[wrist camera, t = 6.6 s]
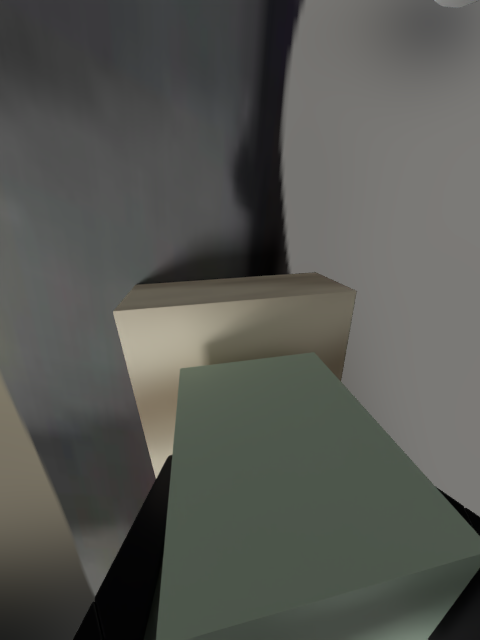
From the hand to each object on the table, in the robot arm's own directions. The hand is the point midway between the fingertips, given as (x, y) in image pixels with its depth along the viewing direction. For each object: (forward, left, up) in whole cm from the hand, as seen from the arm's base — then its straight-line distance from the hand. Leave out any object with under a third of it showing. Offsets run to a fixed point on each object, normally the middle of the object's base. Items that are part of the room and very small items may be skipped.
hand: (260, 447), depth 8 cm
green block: (0, 0, -2) cm, 2 cm away
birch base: (0, 0, -6) cm, 6 cm away
